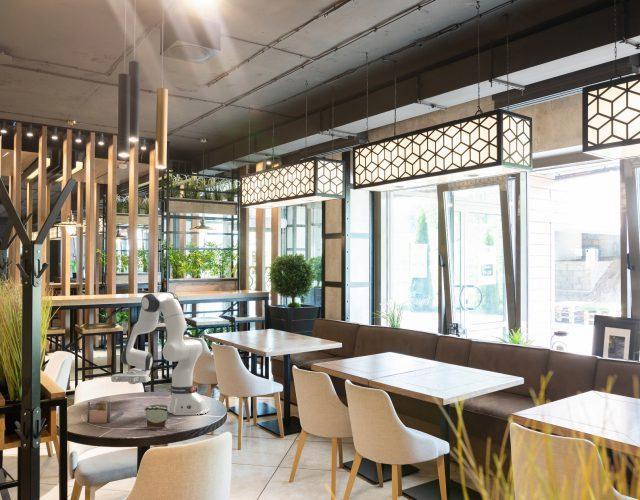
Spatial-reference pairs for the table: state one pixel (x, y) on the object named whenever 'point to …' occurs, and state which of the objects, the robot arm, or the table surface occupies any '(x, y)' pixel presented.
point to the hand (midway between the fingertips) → (124, 380)
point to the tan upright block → (102, 405)
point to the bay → (101, 414)
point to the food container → (156, 415)
